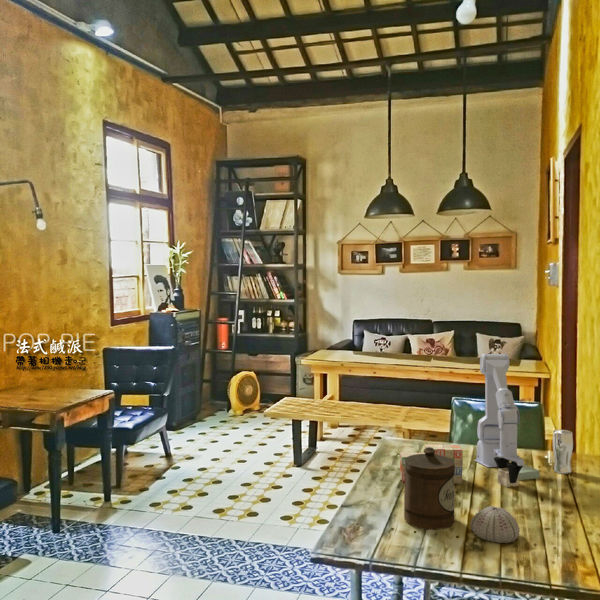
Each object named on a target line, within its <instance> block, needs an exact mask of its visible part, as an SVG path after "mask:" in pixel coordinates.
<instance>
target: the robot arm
mask: <svg viewBox="0 0 600 600" xmlns="http://www.w3.org/2000/svg"><path fill="white" fill-rule="evenodd" d="M510 363H511V362H510V357H509V355H508V353H482V354H481V355H480V358H479V371H480V374H483V375H484V379H485V380H484V382H485V383H484V384H485V389H484V391H485V397H484V398H485V400H484V401H485V402H484V404H485V405H484V406H485V411H484V413H485V414H484V416H482V417H481V418H480V419H479V420H478V421H477V427H476V428H477V429H476V431H477V433H476V434H477V439H479V440H478V441H477V443H476V459H474V461H475V462H477V463H478V464H480V465H483V466H485V467H486V468H496V467H497V470H498V469H500V468H508V471H509V480H510V483H516V481H517V478H518V474H519V472H520V470H521V468H522V467H523V465H524V464H525V460H524V459H523V458H521V457H520V456H519V455H518V425H519V424H520V421H521V420H520V419H521V418H520V416H521V415H520V409H519V408H518V407H517V405H516V404H515V400H514V397H513V392H512V390H510V389H508V380H507V373H508V372H509V368H510Z"/></svg>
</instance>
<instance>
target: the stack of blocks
mask: <svg viewBox="0 0 600 600" xmlns="http://www.w3.org/2000/svg"><path fill="white" fill-rule="evenodd" d="M427 447H431V448H433V449H435V454H436V455H442V456H446V457H449V458H451V459H452V460H453V461H454V463H455V472H454V484H463V463H464V461H463V449H462V447H461V446H460V445H457V444H456V445H455V444H452V445H451V444H424V449H426V448H427ZM416 454H425V453H424V452H404V451H402V452H400V454H399V455H400V458H399V459H400V460H399V474H400V475H399V477H400V480H402V481H401V482H402V483H405V460H406V458H407V457H408V456H411V455H416Z"/></svg>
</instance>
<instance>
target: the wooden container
mask: <svg viewBox="0 0 600 600" xmlns="http://www.w3.org/2000/svg"><path fill="white" fill-rule="evenodd" d="M423 453H425V454H416V455H411V456H408V457H407V458H406V460H405V482H404V490H403V491H404V494H403V495H404V498H403V499H404V502H403V503H404V505H403V506H404V509H403V511H404V512H403V513H404V514H403V515H404V517H403V518H404V520H406V521H405V522H406V523H408V524H409V525H411V526H413V527H415V528H418V529H423V528H424V529H425V530H443V529H448V528H450V527H452V526H453V525H454V523H455V508H456V507H455V504H456V503H455V502H456V501H455V500H456V494H455V483H454V472H455V463H454V461H453V460H452V459H451V458H449V457H446V456H442V455H436V454H435V449H433V448H431V447H427V448H426V449H425V448H424V450H423Z"/></svg>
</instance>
